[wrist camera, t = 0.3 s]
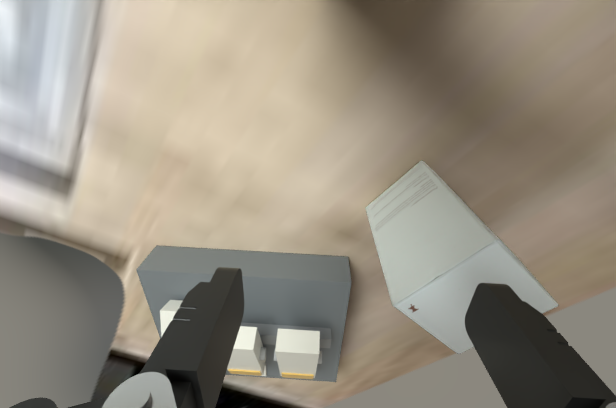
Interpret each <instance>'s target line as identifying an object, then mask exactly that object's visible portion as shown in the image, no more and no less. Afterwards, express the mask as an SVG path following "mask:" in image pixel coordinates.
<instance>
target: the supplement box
mask: <svg viewBox="0 0 616 408" xmlns="http://www.w3.org/2000/svg"><path fill="white" fill-rule="evenodd" d="M365 209H366V213H367V216H368V220H369V223H370V227H371V230H372V234H373V238H374V241H375V245H376V248H377V252H378V256H379V259H380V263H381V266H382V270H383V274H384V277H385V281H386V284H387V288H388V291H389V295H390V299H391V303H392V306H394V307H395V308H396V309H398V310H399V311H401V312H402V313H403V314H405V315H406V316H407V317H409V318H410V319H411V320H413V321H414V322H415V323H417V324H418V325H419V326H421V327H422V328H423V329H425V330H426V331H427V332H429V333H430V334H431V335H433V336H434V337H435V338H437V339H438V340H439V341H441V342H442V343H444V344H445V345H446V346H447V347H449V348H450V349H451V350H453V351H454V352H456V353H457V354H461V353H463V352H465V351H467V350H469V349H471V348H473V347H474V345H473V343H472V342H471V340H470V338H469V336H468V334H467V332H466V328H465V315H466V312H467V310H468V307H469V305H470V302H471V300H472V297H473V295H474V292H475V290H476V287H477V286H478V284H480V283H495V284H506V285H508V286H510V287H511V288H512V290H513V291H514V292H515V293H516V294H517V295H518V297H519V298H520V299H521V300H522V301H525V302H527V303H528V304H529V305H531V306H532V307H533V308H535V309H536V310H538V311H539V312H540V313H545V312H547V311H549V310H551V309H553V308H555V307H557V306H558V304H557V302H556V301H555V300H554V299H553V298H552V296H551V295H550V294H549V293H548V292H547V291H546V290H545V288H544V287H543V286H542V285H541V284H540V283H539V282H538V280H537V279H536V278H535V277H534V276H533V275H532V274H531V272H530V271H529V270H528V269H527V268H526V267H525V266H524V264H523V263H522V262H521V261H520V260H519V259H518V258H517V257H516V256H515V255H514V254H513V253H512V251H511V250H510V249H509V248H508V247H507V246H506V245H505V244H504V243H503V242H502V241H501V240H500V239H499V238H498V237H497V236H496V235H495V234H494V233H493V232H492V231H491V230H490V229H489V228H488V227H487V226H486V224H485V223H484V222H483V221H482V220H481V219H480V218H479V217H478V216H477V215H476V214H475V213H474V212H473V211H472V210H471V209H470V208H469V207H468V206H467V205H466V203H465V202H464V201H463V200H462V199H461V198H460V197H459V196H458V195H457V194H456V193H455V192H454V191H453V190H452V189H451V188H450V187H449V186H448V185H447V184H446V183H445V182H444V181H443V180H442V179H441V178H440V177H439V176H438V175H437V174H436V173H435V172H434V171H433V170H432V169H431V168H430V167H429V166H428V165H427V164H426V163H425V162H424V161H422V160H421V161H420V162H419V163H418V164H416V165H415V166H414V167H413V168H412V169H410V170H409V171H408V172H407V173H406V174H404V175H403V176H402V177H401V178H400V179H399V180H397V181H396V182H395V183H394V184H393V185H391V186H390V187H389V188H388V189H387V190H386V191H384V192H383V193H382V194H381V195H380V196H379V197H377V198H376V199H375V200H374V201H373V202H371V203H370V204H369V205H368V206H367V207H366V208H365Z"/></svg>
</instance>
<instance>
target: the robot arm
mask: <svg viewBox="0 0 616 408" xmlns="http://www.w3.org/2000/svg"><path fill="white" fill-rule="evenodd" d="M243 314H244V291H243V279H242V271H241V269H240V268H226V267H218V268H217V269H216V271H215V273H214V275H213V277H212V279H211V281H210V282H200V283H198V284H197V285H196V286H195V287H194V288H193V289H191V290H190V291H189V292H188V293H187V295H186V296H185V298H184V300H183V301H182V303H181V305H180V308H179V309H178V310H177V312H176V313H175V315H174V317H173V320H172V321H171V322H170V323H169V325H168V327H167V329H166V330H165V332H164V334H163V335H162V337H161V339H160V340H159V342H158V344H157V346H156V347H155V349H154V351H153V352H152V354H151V356H150V357H149V359H148V361H147V363H146V364H145V366H144V368H143V369H142V370H141V372H140V373H139V374H138V375H136V376H133V377H131V378H130V379H128V380H126V381H125V382H123V383H122V384H121V385H119V386H118V387H117V388H116V389H115V390H114V391H113V392H112V393H111V394H110V396H108V397H105V398H102V399H99V400H95V401H91V402H88V403H84V404H80V405H76V406H72V407H68V408H215V406H216V403H217V399H218V396H219V393H220V390H221V386H222V383H223V380H224V377H225V374H226V370H227V367H228V364H229V361H230V358H231V354H232V351H233V348H234V345H235V341H236V338H237V335H238V332H239V329H240V325H241V322H242V319H243ZM465 328H466V332H467V334H468V336H469V338H470V340H471V342H472V343H473V345H474V347H475V349H476V350H477V353H478V354H479V356H480V358H481V360H482V362H483V364H484V365H485V367H486V369H487V371H488V373H489V375H490V377H491V378H492V380H493V382H494V384H495V386H496V388H497V389H498V391H499V393H500V395H501V397H502V398H503V400H504V402H505V404H506V406H507V408H616V396H615V395H614V394H613V393H612V391H611V390H610V389H609V388H608V387H607V386H606V385H605V383H604V382H603V381H602V380H601V379H600V378H599V377H598V376H597V374H596V373H595V372H594V371H593V370H592V369H591V368H590V367H589V365H587V363H585V361H584V360H583V359H582V358H581V357H580V355H579V354H578V353H577V352H576V351H575V350H574V349H573V348H572V347H571V346H569V345H568V342H567V341H566V340H565V339H564V337H563V336H562V335H561V334H560V333H557V330H556V328H555V327H554V326H553V325H552V324H551V323H550V322H549V321H548V319H547V318H546V317H545V316H544V315H543V314H542V313H540V312H539V311H538V310H536V309H535V308H533V307H532V306H531V305H529V304H528V303H527V302H525V301H522V300H521V299H520V298H519V297H518V295H517V294H516V293H515V292H514V291H513V290H512V288H511V287H510V286H508V285H506V284H495V283H480V284H478V286H477V287H476V290H475V292H474V295H473V297H472V300H471V302H470V305H469V307H468V310H467V312H466V315H465ZM10 408H57V406H56V404H55V403H54V402H53V401H52V400H50V399H47V398H34V399H29V400H26V401H23V402H20V403H18V404H16V405H14V406H12V407H10Z"/></svg>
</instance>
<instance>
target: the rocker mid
mask: <svg viewBox="0 0 616 408" xmlns="http://www.w3.org/2000/svg"><path fill="white" fill-rule="evenodd" d="M265 361H266V347H263V344H262V341H261V338H260V335H259V332H258V329H257V327H246V326H240V329H239V332H238V335H237V338H236V341H235V345H234V348H233V351H232V354H231V358H230V361H229V364H228V367H227V370H228V371H229V372H230V373H231V374H242V375H257V376H262V375H264V368H265Z"/></svg>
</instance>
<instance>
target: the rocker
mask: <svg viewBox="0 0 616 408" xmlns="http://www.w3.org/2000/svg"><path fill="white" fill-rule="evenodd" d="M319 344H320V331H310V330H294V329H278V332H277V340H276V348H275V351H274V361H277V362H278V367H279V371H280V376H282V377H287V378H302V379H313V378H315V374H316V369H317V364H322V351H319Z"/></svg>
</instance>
